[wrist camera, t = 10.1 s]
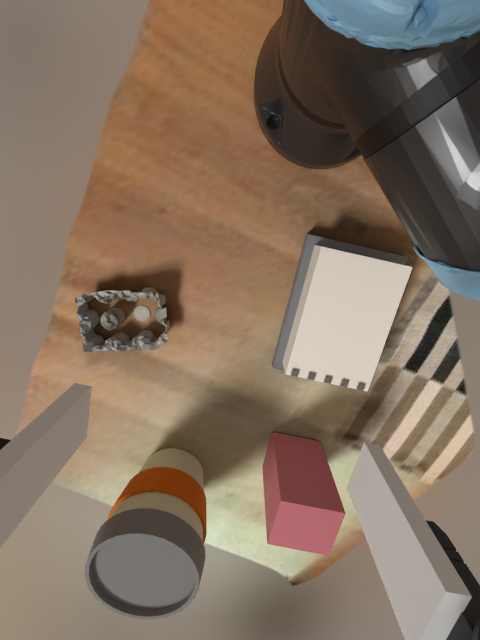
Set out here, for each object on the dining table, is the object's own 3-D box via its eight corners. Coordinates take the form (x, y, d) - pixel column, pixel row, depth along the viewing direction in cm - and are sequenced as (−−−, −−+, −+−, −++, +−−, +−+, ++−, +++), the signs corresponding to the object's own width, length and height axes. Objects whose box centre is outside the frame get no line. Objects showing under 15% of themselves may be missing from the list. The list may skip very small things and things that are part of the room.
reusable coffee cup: (138, 428, 46) (89, 519, 32) (224, 448, 47) (214, 546, 32) (125, 497, 50) (75, 608, 35) (205, 515, 50) (188, 630, 36)
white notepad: (306, 234, 38) (315, 234, 33) (403, 256, 39) (426, 260, 34) (271, 363, 43) (275, 380, 38) (358, 381, 43) (373, 401, 38)
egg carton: (167, 284, 41) (159, 290, 37) (173, 341, 43) (166, 352, 39) (84, 287, 41) (67, 293, 37) (93, 343, 43) (78, 355, 39)
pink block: (272, 431, 45) (280, 500, 34) (320, 441, 46) (345, 513, 34) (262, 466, 47) (267, 543, 36) (309, 475, 47) (329, 555, 36)
